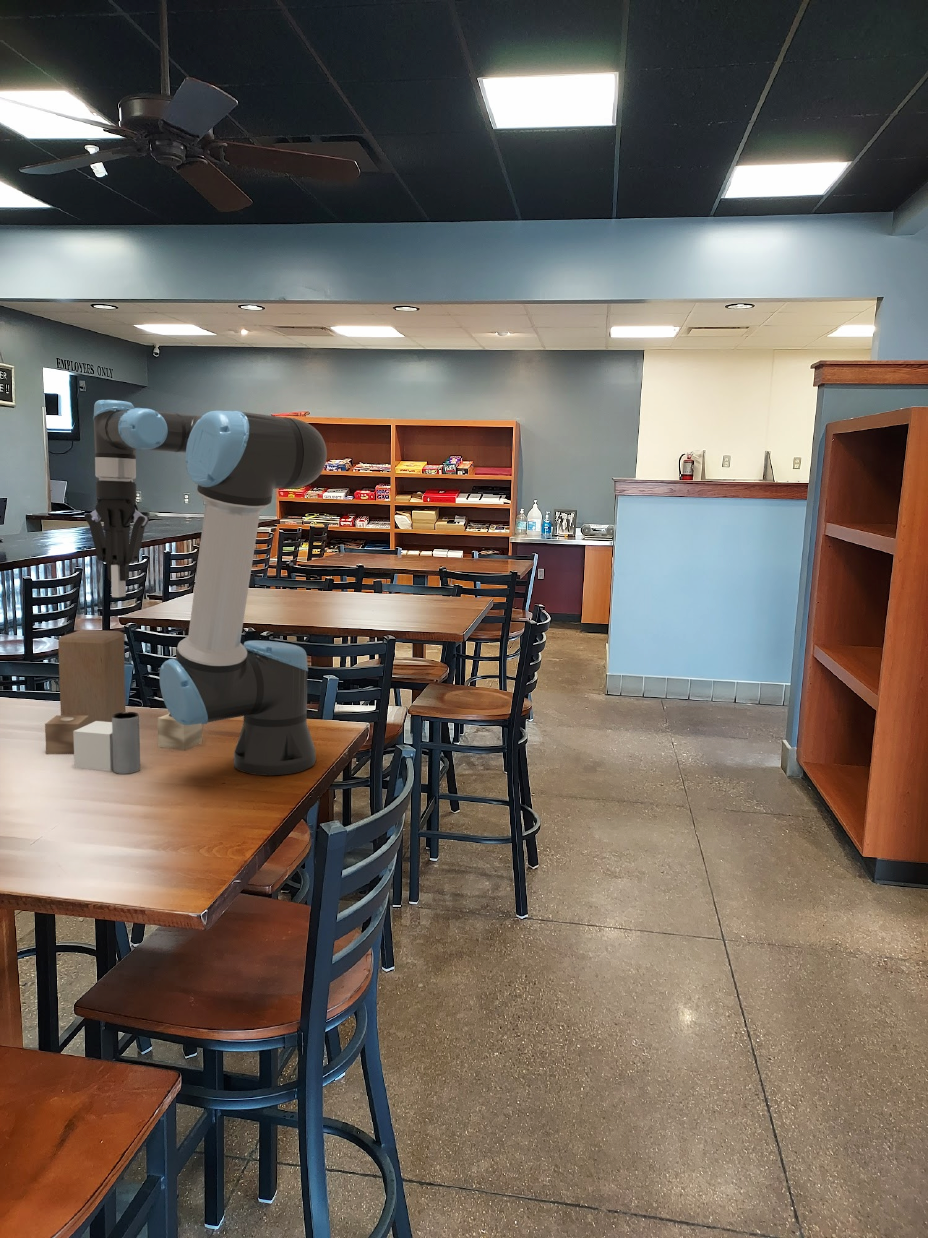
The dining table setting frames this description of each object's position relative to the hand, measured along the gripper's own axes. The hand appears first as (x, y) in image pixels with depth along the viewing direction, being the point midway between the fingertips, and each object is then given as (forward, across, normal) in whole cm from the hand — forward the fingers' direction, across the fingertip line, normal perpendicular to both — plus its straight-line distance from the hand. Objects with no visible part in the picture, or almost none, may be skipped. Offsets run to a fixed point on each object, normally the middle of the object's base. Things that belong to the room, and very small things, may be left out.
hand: (118, 596), depth 167 cm
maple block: (+29, -16, +6) cm, 33 cm away
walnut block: (+29, +3, +14) cm, 32 cm away
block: (+29, +7, -2) cm, 30 cm away
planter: (+29, -14, +22) cm, 39 cm away
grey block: (+29, -8, +20) cm, 36 cm away
